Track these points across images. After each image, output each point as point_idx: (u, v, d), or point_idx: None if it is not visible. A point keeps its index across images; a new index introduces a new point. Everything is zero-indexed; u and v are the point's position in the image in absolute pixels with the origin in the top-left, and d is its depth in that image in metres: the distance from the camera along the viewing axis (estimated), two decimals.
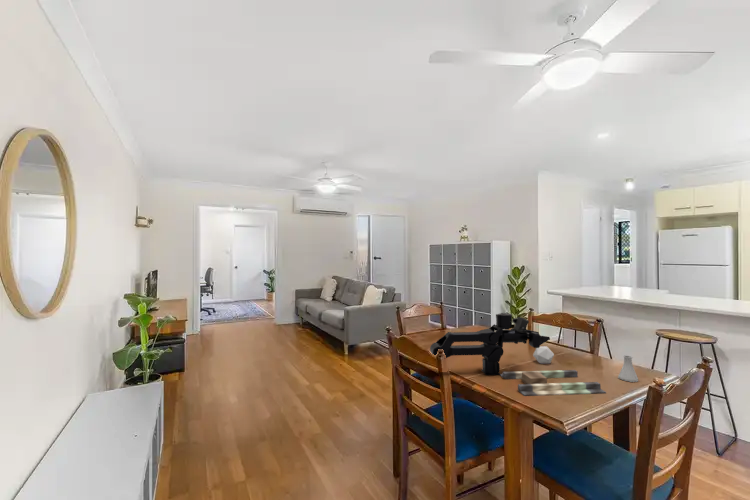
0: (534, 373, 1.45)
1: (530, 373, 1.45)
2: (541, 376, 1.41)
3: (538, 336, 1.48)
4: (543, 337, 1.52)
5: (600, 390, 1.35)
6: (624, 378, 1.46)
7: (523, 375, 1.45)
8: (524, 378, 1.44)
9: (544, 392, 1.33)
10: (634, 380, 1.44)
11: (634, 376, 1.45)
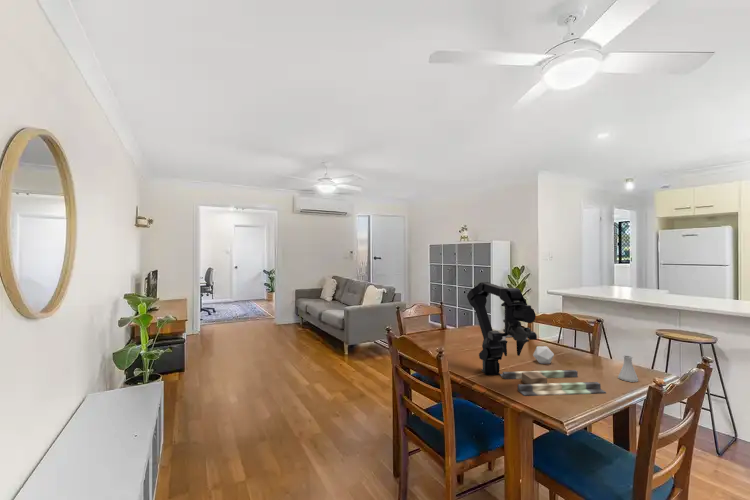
0: (534, 373, 1.45)
1: (530, 373, 1.45)
2: (541, 376, 1.41)
3: (492, 338, 1.40)
4: (503, 347, 1.41)
5: (600, 390, 1.35)
6: (624, 378, 1.46)
7: (523, 375, 1.45)
8: (524, 378, 1.44)
9: (544, 392, 1.33)
10: (634, 380, 1.44)
11: (634, 376, 1.45)
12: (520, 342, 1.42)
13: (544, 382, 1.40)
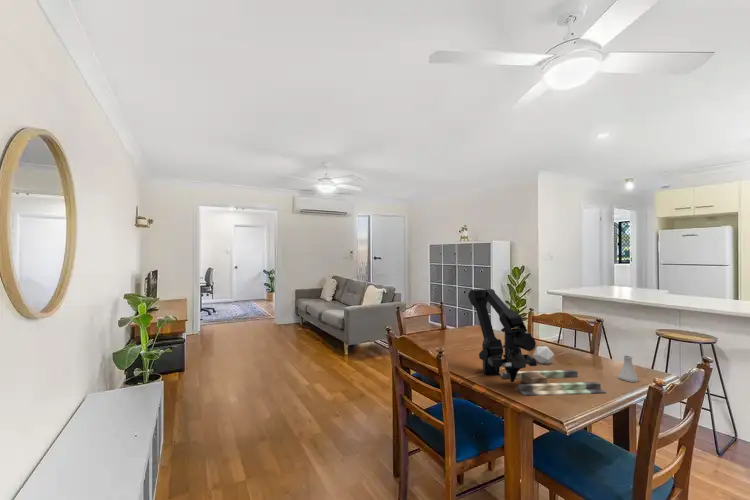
0: (534, 373, 1.45)
1: (530, 373, 1.45)
2: (541, 376, 1.42)
3: (492, 365, 1.40)
4: (509, 373, 1.42)
5: (600, 390, 1.35)
6: (624, 378, 1.46)
7: (523, 375, 1.45)
8: (525, 378, 1.43)
9: (544, 392, 1.33)
10: (634, 380, 1.44)
11: (634, 376, 1.45)
12: (514, 368, 1.41)
13: (544, 382, 1.40)
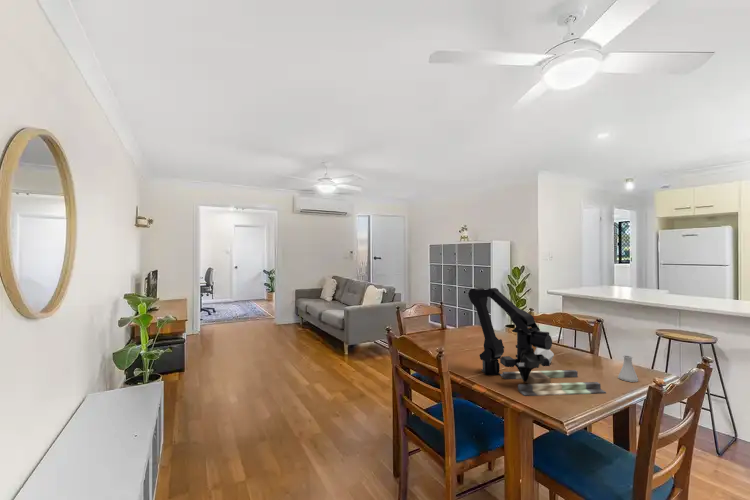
0: (537, 373, 1.44)
1: (533, 373, 1.44)
2: (544, 376, 1.41)
3: (504, 365, 1.40)
4: (522, 373, 1.42)
5: (600, 390, 1.35)
6: (624, 378, 1.46)
7: None
8: (528, 379, 1.43)
9: (544, 392, 1.33)
10: (634, 380, 1.44)
11: (634, 376, 1.45)
12: (527, 368, 1.42)
13: (547, 382, 1.39)
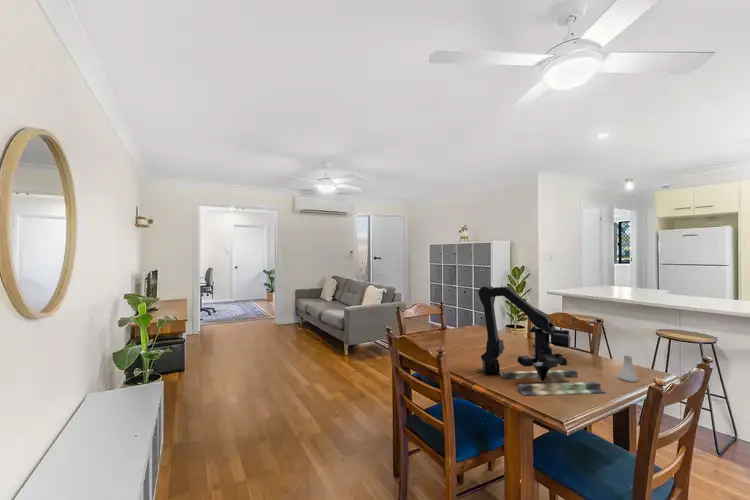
0: (557, 375, 1.43)
1: (552, 375, 1.43)
2: (563, 378, 1.40)
3: (522, 364, 1.40)
4: (539, 373, 1.42)
5: (600, 390, 1.35)
6: (624, 378, 1.46)
7: None
8: (546, 379, 1.43)
9: (544, 392, 1.33)
10: (634, 380, 1.44)
11: (634, 376, 1.45)
12: (544, 368, 1.42)
13: None
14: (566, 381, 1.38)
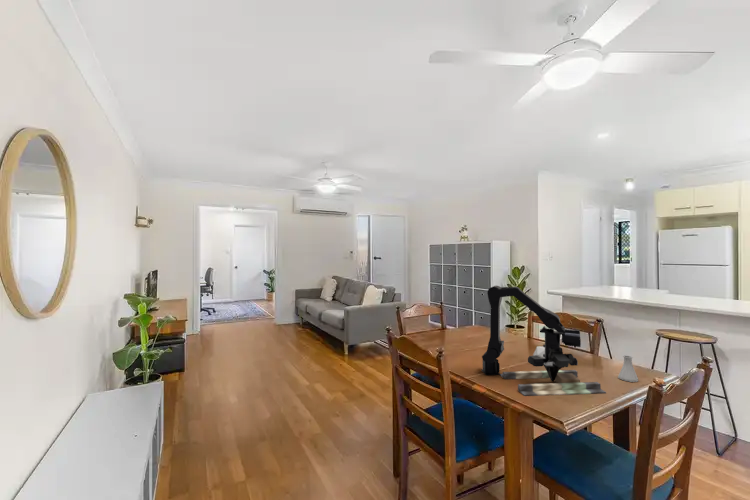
0: (567, 374, 1.43)
1: (563, 374, 1.44)
2: (574, 377, 1.40)
3: (533, 364, 1.41)
4: (550, 373, 1.43)
5: (600, 390, 1.35)
6: (624, 378, 1.46)
7: None
8: (557, 379, 1.43)
9: (544, 392, 1.33)
10: (634, 380, 1.44)
11: (634, 376, 1.45)
12: (555, 368, 1.42)
13: None
14: (577, 381, 1.38)
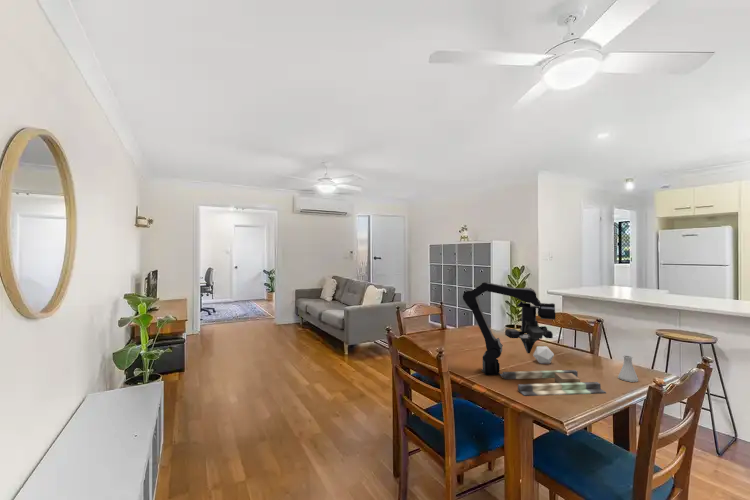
0: (567, 374, 1.44)
1: (563, 374, 1.44)
2: (574, 377, 1.40)
3: (509, 336, 1.47)
4: (526, 345, 1.49)
5: (600, 390, 1.35)
6: (624, 378, 1.46)
7: (556, 375, 1.44)
8: (557, 378, 1.43)
9: (544, 392, 1.33)
10: (634, 380, 1.44)
11: (634, 376, 1.45)
12: (531, 340, 1.48)
13: None
14: (577, 380, 1.38)
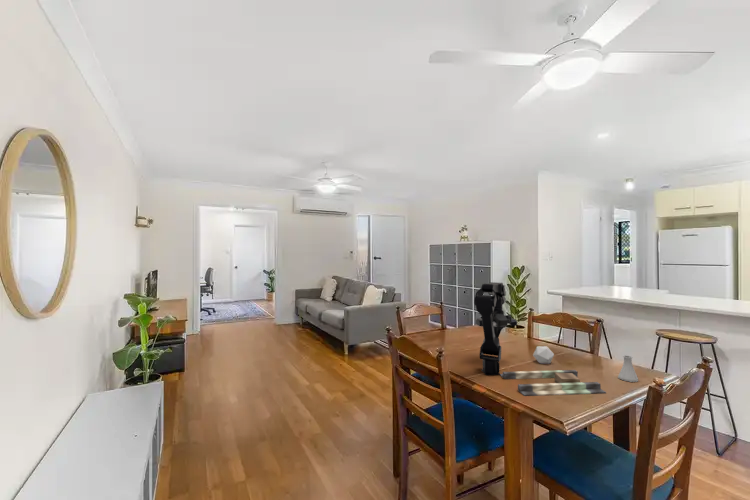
0: (568, 374, 1.44)
1: (563, 374, 1.44)
2: (574, 377, 1.40)
3: (479, 324, 1.66)
4: (494, 332, 1.68)
5: (600, 390, 1.35)
6: (624, 378, 1.46)
7: (556, 375, 1.44)
8: (557, 378, 1.43)
9: (544, 392, 1.33)
10: (634, 380, 1.44)
11: (634, 376, 1.45)
12: (498, 328, 1.68)
13: None
14: (576, 380, 1.38)
